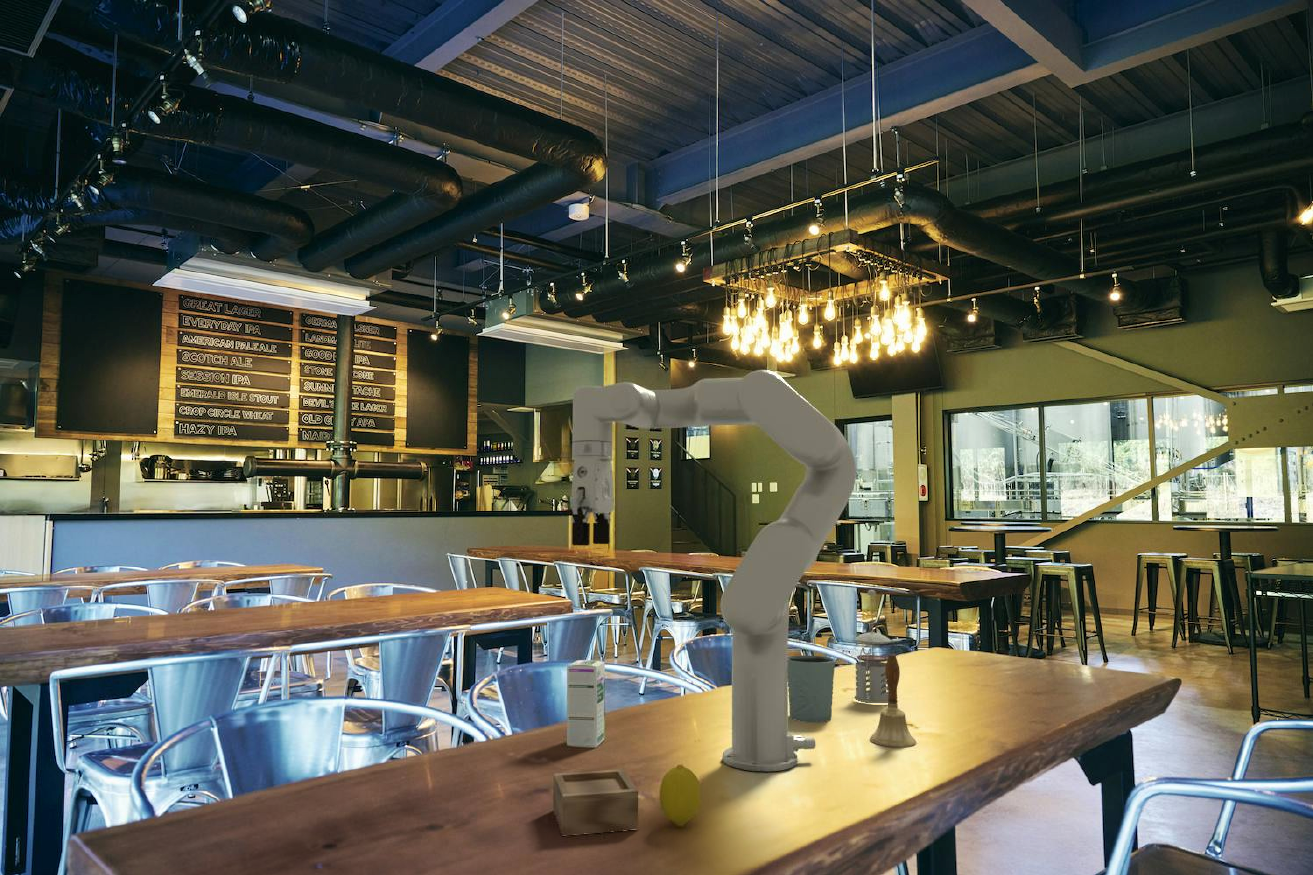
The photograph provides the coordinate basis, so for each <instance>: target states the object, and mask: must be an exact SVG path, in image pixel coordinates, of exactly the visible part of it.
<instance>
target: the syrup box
mask: <svg viewBox="0 0 1313 875" xmlns="http://www.w3.org/2000/svg"><path fill="white" fill-rule="evenodd" d="M605 670H606V669H605V661H604V660H596V659H581V660H579V659H578V660H575V661H574V662H572V663H570V664H568V665H567V666H566V745H567V746H569V747H574V748H575V747H576V748H577V747H578V748H590V749H591V748H593V749H594V748H598V746H599V745H601V743H602V742H604V741H605V740H606V695H605V694H606V692H605V691H606V689H605V688H606V687H605V686H606V684H605V683H606V682H605V681H606V680H605V679H606V678H605V677H606V674H605Z"/></svg>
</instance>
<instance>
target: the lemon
mask: <svg viewBox="0 0 1313 875" xmlns="http://www.w3.org/2000/svg"><path fill="white" fill-rule="evenodd" d="M659 786H660V787H659V803H660V804H659V805H660V809H661V810H662V813H663V815H664V816H665V817H666V818H667V819H668V820H670V821H671V822H673V823H674V824H676V826H677V827H679V826H681V827H683V826H684V825H685V824H686V823H687V822H689V821H691V820H692V819H694V818H695V816H696V815H697V813H698V812H699V809H700V806H701V805H700V804H701V800H702V799H701V798H702V795H701V794H702V793H701V787H700V786H701V785H700V783H699V780H698V778H697V775H696V774H695V773H694V772H693V771H692V770H691V769H689V768H687V767H685V766H684V765H683V764H678V765H676V767H673V768H671V769H669V770H668V771H667V772H666V773H665V774H664V776H663V778H662V780H661V783H660V785H659Z"/></svg>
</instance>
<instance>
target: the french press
mask: <svg viewBox="0 0 1313 875" xmlns="http://www.w3.org/2000/svg"><path fill="white" fill-rule="evenodd" d="M876 592H877V591H875V590H874V589H869V590H868V591H867V595H868V596H871V597H870V598H871V602H873V596H876V595H877V593H876ZM873 606H874V605H871V631H869V632H865V633H861V634H859V635H858V636H856V637H855V638H854V642H856V643H859V644H868V645H872V647H870V648H869V650H868V651H867V652H865V648H864V647H862V648H861V650H860V655H859V654H858V655H857V656H856V659H857V660H858V661H857V662H855V697H854V698H855V699H856V700H858V701H861V702H865V703H888V684H887V681H886V675H885V668H886V663H887V660H888V656H885V655H881V654H879V655H877V654H876V655H875V654H874V645H880V644H881V645H883V644H889V643H890V642H891V641H892V640H891V639H890V638H889V637H887V636H885V635H883V634H881V633H879V632H878V633H877V632H875V631H874V619H873V617H874V616H873V613H874V612H873V610H874V609H873ZM862 653H863V654H862ZM867 683H869V684H867ZM867 689H869V690H867Z"/></svg>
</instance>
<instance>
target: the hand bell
mask: <svg viewBox="0 0 1313 875" xmlns="http://www.w3.org/2000/svg"><path fill="white" fill-rule="evenodd" d="M887 657H888V660H887V661H886V662H885V663H886V668H885V675H886V681H887V684H888V685H887V684H886V685H887V686H888V690H887V692H888V705H887V708H884V709H882V710H880V713H879V714H880V716H879V722H878V725H877V728H876V730H875V732H873V734H871V736H870V738H869V740H870V742H872V743H874V744H876V745H880V746H884V747H888V748H910V747H914V746H916V745H917V741H916V739H915V738H914V736H912V734H911V732H910V731H909V728H908V724H907V719H906V718H907V717H906V714H905V712H904V711H902V710H901V709H899V708H898V685H899V682H900V676H901V674H900V665H899V661H898V659H897V655H896V653H888V656H887Z"/></svg>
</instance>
